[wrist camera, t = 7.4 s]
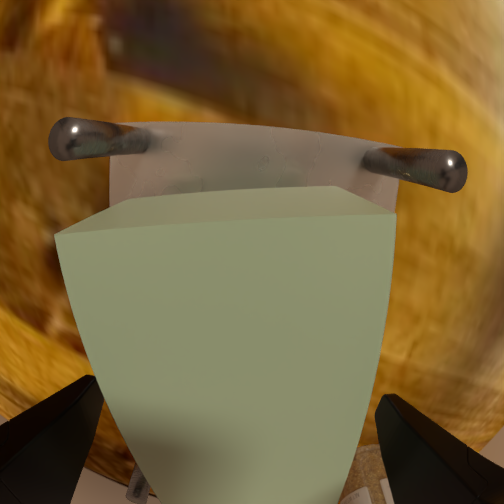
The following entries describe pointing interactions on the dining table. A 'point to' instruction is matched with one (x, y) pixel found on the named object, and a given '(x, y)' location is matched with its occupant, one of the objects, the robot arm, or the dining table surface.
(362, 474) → the sprinkles bottle
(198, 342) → the board
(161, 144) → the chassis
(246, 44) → the dining table surface
